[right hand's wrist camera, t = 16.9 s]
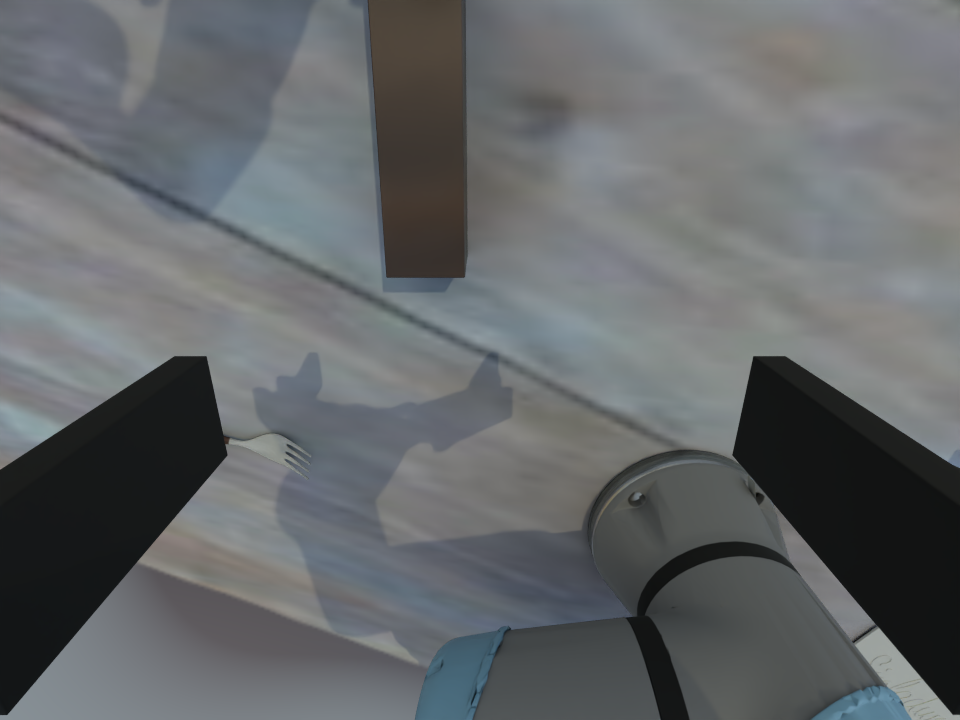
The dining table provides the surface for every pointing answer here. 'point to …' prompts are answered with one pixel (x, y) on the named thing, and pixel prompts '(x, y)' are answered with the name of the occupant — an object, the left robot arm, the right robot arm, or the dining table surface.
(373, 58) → the walnut beam
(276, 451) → the fork
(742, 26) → the dining table surface
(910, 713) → the invitation card
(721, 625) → the right robot arm
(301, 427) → the dining table surface
